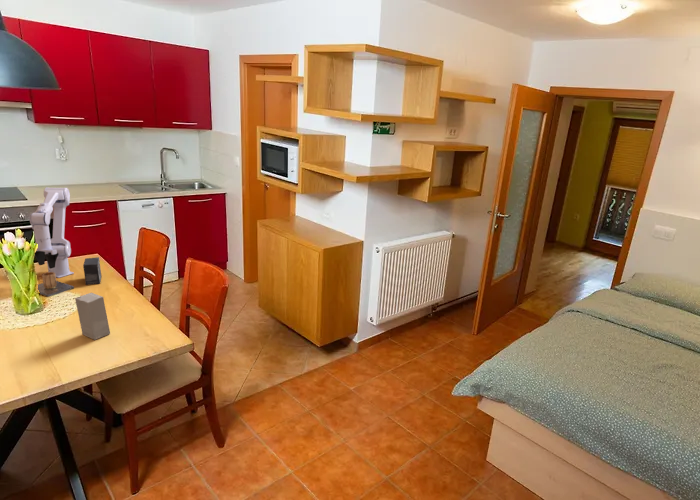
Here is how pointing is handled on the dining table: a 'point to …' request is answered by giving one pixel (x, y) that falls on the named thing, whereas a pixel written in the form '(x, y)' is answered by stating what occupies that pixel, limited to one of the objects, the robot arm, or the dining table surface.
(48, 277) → the brown hollow prism
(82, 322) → the skincare box
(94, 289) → the dining table surface
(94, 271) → the small box
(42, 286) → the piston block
